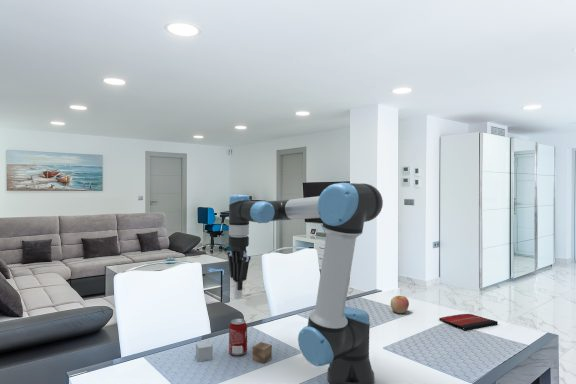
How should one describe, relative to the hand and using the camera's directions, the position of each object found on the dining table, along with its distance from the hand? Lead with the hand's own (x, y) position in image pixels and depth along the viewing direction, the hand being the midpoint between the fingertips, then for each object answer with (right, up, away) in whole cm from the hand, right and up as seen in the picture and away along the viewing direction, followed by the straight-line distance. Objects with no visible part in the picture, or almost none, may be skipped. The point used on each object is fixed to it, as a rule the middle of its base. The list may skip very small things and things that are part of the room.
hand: (237, 298), depth 146 cm
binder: (+103, -22, +36) cm, 111 cm away
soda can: (0, -21, 0) cm, 21 cm away
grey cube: (-12, -21, -4) cm, 24 cm away
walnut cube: (+10, -21, -5) cm, 24 cm away
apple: (+75, -21, +49) cm, 92 cm away
